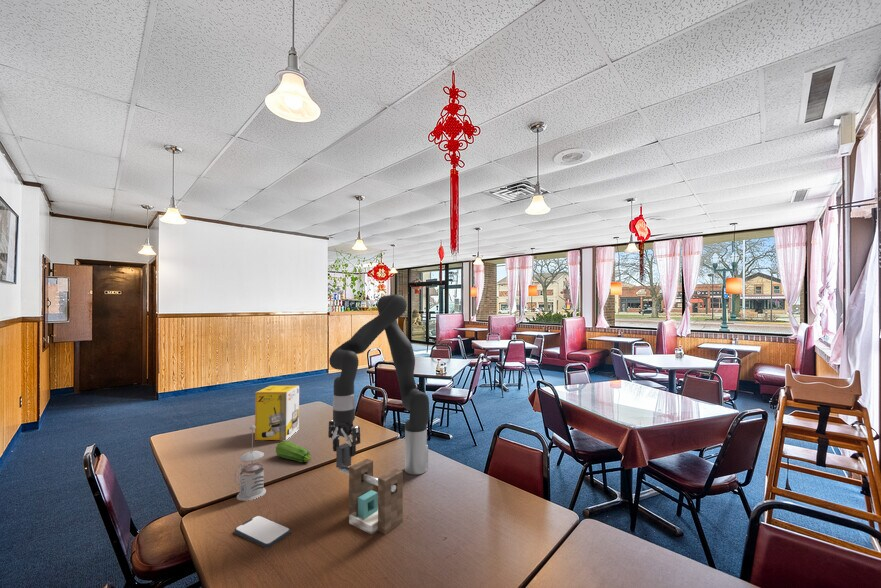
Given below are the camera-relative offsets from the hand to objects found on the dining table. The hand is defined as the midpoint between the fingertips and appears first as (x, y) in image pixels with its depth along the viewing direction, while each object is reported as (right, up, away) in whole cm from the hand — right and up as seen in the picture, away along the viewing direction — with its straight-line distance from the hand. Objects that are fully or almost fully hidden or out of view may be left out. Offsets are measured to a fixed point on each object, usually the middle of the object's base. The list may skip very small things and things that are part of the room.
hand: (344, 453), depth 128 cm
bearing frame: (+12, -17, -9) cm, 23 cm away
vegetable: (-32, -19, +37) cm, 53 cm away
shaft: (+9, -6, -7) cm, 13 cm away
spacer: (+10, -17, -8) cm, 21 cm away
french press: (-36, -18, +6) cm, 41 cm away
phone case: (-21, -18, -17) cm, 32 cm away
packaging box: (-54, -20, +67) cm, 88 cm away
